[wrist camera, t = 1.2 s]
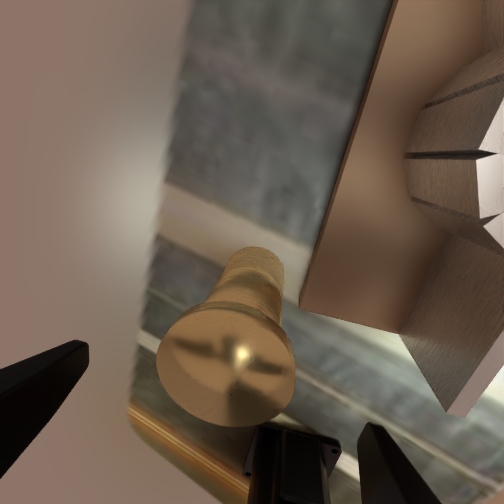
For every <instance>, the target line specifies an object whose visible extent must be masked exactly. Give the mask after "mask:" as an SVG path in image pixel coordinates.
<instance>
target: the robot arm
mask: <svg viewBox="0 0 504 504" xmlns="http://www.w3.org/2000/svg"><path fill="white" fill-rule="evenodd" d="M88 365H89V345H88V344H87V343H86V342H83V341H79V340H72V341H70V342H67V343H65V344H62V345H60V346H57V347H55V348H52V349H50V350H47V351H45V352H42V353H40V354H37V355H35V356H32V357H30V358H27V359H25V360H22V361H20V362H17V363H15V364H12V365H10V366H7V367H5V368H2V369H0V479H1V478H2V477H3V475H4V474H5V473H6V472H7V470H8V469H9V468H10V467H11V466H12V465H13V463H14V462H15V461H16V460H17V459H18V458H19V456H20V455H21V454H22V453H23V452H24V450H25V449H26V448H27V447H28V446H29V444H30V443H31V442H32V441H33V440H34V439H35V437H36V436H37V435H38V434H39V432H40V431H41V430H42V429H43V428H44V427H45V425H46V424H47V423H48V422H49V421H50V419H51V418H52V417H53V416H54V414H55V413H56V412H57V410H58V409H59V407H60V406H61V405H62V403H63V402H64V400H65V399H66V398H67V396H68V395H69V393H70V392H71V390H72V389H73V388H74V386H75V385H76V383H77V382H78V381H79V379H80V378H81V376H82V375H83V373H84V372H85V370H86V369H87V367H88ZM357 452H358V463H359V475H360V486H361V498H362V504H442V503H441V502H440V500H439V499H438V498H437V496H436V495H435V494H434V492H433V491H432V490H431V488H430V487H429V486H428V484H427V483H426V482H425V481H424V479H423V478H422V477H421V475H420V474H419V473H418V471H417V470H416V469H415V467H414V466H413V465H412V463H411V462H410V461H409V459H408V458H407V457H406V455H405V454H404V453H403V452H402V450H401V449H400V448H399V446H398V445H397V444H396V442H395V441H394V440H393V438H392V437H391V436H390V434H389V433H388V432H387V430H386V429H385V428H384V427H383V426H382V425H379V424H376V423H372V422H368V423H367V424H366V425H365V427H364V429H363V431H362V433H361V434H360V436H359V438H358V442H357ZM341 453H342V450H341V445H340V444H339V443H338V442H336V441H332V440H329V439H325V438H322V437H318V436H315V435H311V434H308V433H304V432H301V431H297V430H294V429H290V428H287V427H283V426H280V425H276V424H273V423H269V422H264V423H262V424H258V425H256V428H255V431H254V434H253V438H252V441H251V444H250V447H249V451H248V454H247V457H246V460H245V463H244V467H243V476H244V477H246V478H249V479H250V486H249V494H248V502H247V504H331V502H330V493H329V484H328V478H329V476H330V474H331V472H332V470H333V468H334V467H335V465H336V463H337V461H338V459H339V457H340V455H341Z"/></svg>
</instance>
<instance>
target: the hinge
mask: <svg viewBox="0 0 504 504" xmlns="http://www.w3.org/2000/svg"><path fill="white" fill-rule="evenodd" d="M482 20H483V40H484V55H483V56H481V57H479V58H478V59H476V60H474V61H472V62H470V64H468V65H466V66H464V67H462V68H461V69H460V70H459V71H458V72H457V73H456V74H455V75H454V76H453V77H452V78H451V79H450V80H449V81H448V82H447V83H446V84H445V85H444V86H443V87H442V88H441V89H440V90H439V91H438V92H437V93H436V94H435V95H434V96H433V97H432V98H431V99H430V100H428V101H427V102H426V103H425V105H426V106H427V107H428V108H427V109H424V110H421V111H420V113H419V115H418V118H417V120H416V123H415V125H414V128H413V131H412V133H411V136H410V138H409V141H408V143H407V146H406V148H405V151H404V153H408V154H412V155H415V156H411V157H408V158H405V159H403V163H404V170H405V177H406V184H407V191H408V196H411V197H414V198H413V199H412V200H411V201H412V202H413V203H414V204H415V206H416V207H417V208H418V209H419V210H420V211H421V212H422V213H423V214H424V215H425V216H426V217H427V218H428V219H429V220H430V221H431V222H432V223H433V224H434V225H436V226H438V227H439V228H441V229H444V230H446V231H448V233H447V235H446V237H445V239H444V241H443V243H442V245H441V247H440V249H439V251H438V253H437V255H436V257H435V259H434V261H433V263H432V265H431V267H430V269H429V271H428V273H427V274H426V276H425V278H424V280H423V282H422V284H421V286H420V288H419V290H418V292H417V294H416V296H415V298H414V300H413V302H412V304H411V306H410V308H409V310H408V312H407V314H406V316H405V318H404V320H403V322H402V324H401V326H400V328H399V330H398V332H397V333H398V334H399V336H400V338H401V339H402V341H403V343H404V344H405V346H406V348H407V349H408V351H409V353H410V354H411V356H412V358H413V359H414V361H415V362H416V364H417V366H418V367H419V369H420V371H421V372H422V374H423V376H424V377H425V379H426V381H427V382H428V384H429V386H430V387H431V389H432V390H433V392H434V394H435V395H436V397H437V399H438V400H439V402H440V404H441V405H442V407H443V409H444V410H445V412H446V413H448V414H452V415H455V416H459V417H463V418H465V417H466V415H467V414H468V412H469V411H470V410H471V408H472V407H473V406H474V404H475V403H476V402H477V400H478V399H479V398H480V396H481V395H482V393H483V392H484V391H485V389H486V388H487V387H488V385H489V384H490V383H491V381H492V380H493V378H494V377H495V376H496V374H497V373H498V372H499V370H500V369H501V368H502V366H503V365H504V0H482Z"/></svg>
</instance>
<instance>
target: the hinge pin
mask: <svg viewBox="0 0 504 504" xmlns="http://www.w3.org/2000/svg"><path fill="white" fill-rule="evenodd" d="M283 282H284V270H283V266H282V264H281V262H280V260H279V259H278V258H277V257H276V256H275V255H274V254H273V253H272V252H270V251H269V250H266V249H264V248H260V247H248V248H244V249H242V250H240V251H238V252H237V253H236V254H234V255H233V257H232V258H231V260H230V261H229V263H228V265H227V266H226V268H225V270H224V271H223V273H222V275H221V276H220V278H219V280H218V281H217V283H216V285H215V286H214V288H213V290H212V291H211V293H210V295H209V296H208V298H207V300H206V301H205V303H202V304H199V305H196V306H194V307H192V308H190V309H188V310H187V311H185V312H184V313H183V314H182V315H180V316H179V317H178V318H177V320H176V321H175V322H174V323H173V325H172V326H171V328H170V329H169V330H168V332H167V333H166V335H165V336H164V338H163V339H162V341H161V343H160V345H159V348H158V351H157V357H156V365H157V372H158V375H159V378H160V380H161V383H162V385H163V387H164V388H165V390H166V391H167V393H168V394H169V395H170V397H171V398H172V399H173V400H174V401H175V402H176V403H177V404H178V405H179V406H181V407H182V408H183V409H184V410H186V411H187V412H189V413H190V414H192V415H194V416H196V417H197V418H200V419H202V420H204V421H207V422H210V423H213V424H217V425H221V426H228V427H248V426H254V425H258V424H262V423H264V422H266V421H269V420H271V419H272V418H274V417H276V416H277V415H278V414H280V413H281V412H282V411H283V410H284V409H285V408H286V406H287V405H288V404H289V402H290V400H291V398H292V396H293V393H294V389H295V355H294V351H293V347H292V345H291V342H290V340H289V338H288V337H287V335H286V333H285V332H284V331H283V329H282V328H281V316H282V299H283Z"/></svg>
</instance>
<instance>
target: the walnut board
mask: <svg viewBox="0 0 504 504" xmlns="http://www.w3.org/2000/svg"><path fill="white" fill-rule="evenodd" d="M483 55H484V40H483V20H482V0H394V1H393V4H392V7H391V10H390V13H389V16H388V20H387V23H386V26H385V29H384V32H383V35H382V39H381V42H380V45H379V48H378V51H377V54H376V58H375V61H374V64H373V67H372V70H371V73H370V77H369V80H368V83H367V86H366V89H365V92H364V95H363V99H362V102H361V105H360V108H359V111H358V114H357V118H356V121H355V124H354V127H353V130H352V133H351V137H350V140H349V143H348V146H347V149H346V152H345V156H344V159H343V162H342V165H341V168H340V171H339V175H338V178H337V181H336V184H335V187H334V190H333V194H332V197H331V200H330V203H329V206H328V209H327V213H326V216H325V219H324V222H323V225H322V228H321V232H320V235H319V238H318V241H317V244H316V247H315V251H314V254H313V257H312V260H311V263H310V266H309V270H308V273H307V276H306V279H305V282H304V285H303V289H302V292H301V295H300V298H299V309H302V310H306V311H310V312H314V313H318V314H322V315H325V316H329V317H333V318H337V319H341V320H345V321H349V322H353V323H357V324H361V325H364V326H368V327H372V328H376V329H380V330H384V331H388V332H392V333H396V334H398V333H397V332H398V330H399V328H400V326H401V324H402V322H403V320H404V318H405V316H406V314H407V312H408V310H409V308H410V306H411V304H412V302H413V300H414V298H415V296H416V294H417V292H418V290H419V288H420V286H421V284H422V282H423V280H424V278H425V276H426V274H427V273H428V271H429V269H430V267H431V265H432V263H433V261H434V259H435V257H436V255H437V253H438V251H439V249H440V247H441V245H442V243H443V241H444V239H445V237H446V235H447V233H448V231H446V230H444V229H441V228H439V227H438V226H436V225H434V224H433V223H432V222H431V221H430V220H429V219H428V218H427V217H426V216H425V215H424V214H423V213H422V212H421V211H420V210H419V209H418V208H417V207H416V206H415V204H414V203H413V202H412V201H411V200H412V199H413V198H414V197H411V196H408V191H407V184H406V177H405V170H404V163H403V159H405V158H408V157H411V156H415V155H412V154H408V153H404V151H405V148H406V146H407V143H408V141H409V138H410V136H411V133H412V131H413V128H414V125H415V123H416V120H417V118H418V115H419V113H420V111H421V110H424V109H427V108H428V107H427V106H426V105H425V103H426V102H427V101H428V100H430V99H431V98H432V97H433V96H434V95H435V94H436V93H437V92H438V91H439V90H440V89H441V88H442V87H443V86H444V85H445V84H446V83H447V82H448V81H449V80H450V79H451V78H452V77H453V76H454V75H455V74H456V73H457V72H458V71H459V70H460V69H461V68H462V67H464V66H466V65H468V64H470V62H472V61H474V60H476V59H478V58H479V57H481V56H483Z"/></svg>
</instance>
